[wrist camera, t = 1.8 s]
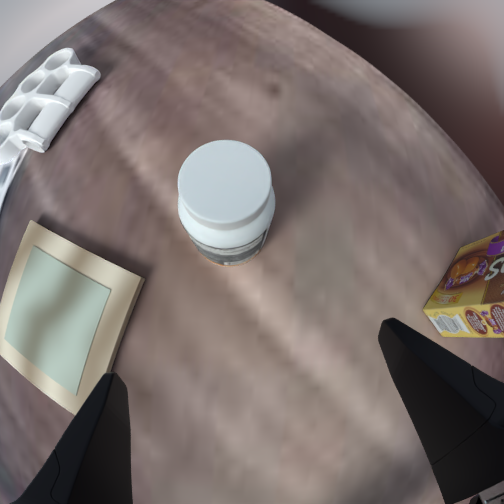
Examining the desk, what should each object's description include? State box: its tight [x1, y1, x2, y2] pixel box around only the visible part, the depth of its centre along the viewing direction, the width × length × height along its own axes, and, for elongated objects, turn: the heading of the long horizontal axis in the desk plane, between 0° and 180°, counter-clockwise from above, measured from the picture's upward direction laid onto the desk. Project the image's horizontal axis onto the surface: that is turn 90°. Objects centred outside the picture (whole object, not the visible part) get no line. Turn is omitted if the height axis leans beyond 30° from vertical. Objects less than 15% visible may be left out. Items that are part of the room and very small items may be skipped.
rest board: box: [0, 220, 145, 415], centre depth 21 cm, size 14×14×1 cm
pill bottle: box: [178, 140, 275, 267], centre depth 19 cm, size 6×6×10 cm
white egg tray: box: [0, 48, 101, 164], centre depth 25 cm, size 3×18×15 cm
